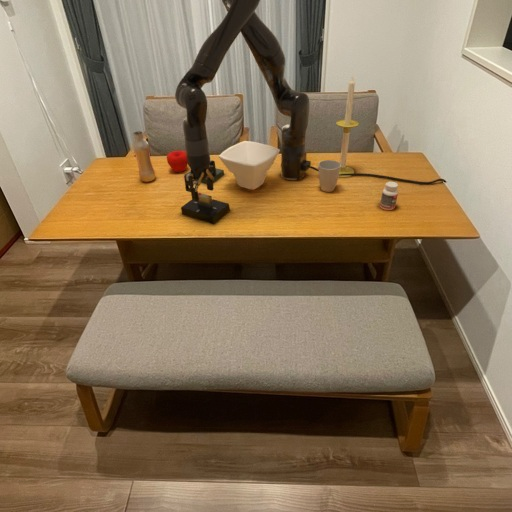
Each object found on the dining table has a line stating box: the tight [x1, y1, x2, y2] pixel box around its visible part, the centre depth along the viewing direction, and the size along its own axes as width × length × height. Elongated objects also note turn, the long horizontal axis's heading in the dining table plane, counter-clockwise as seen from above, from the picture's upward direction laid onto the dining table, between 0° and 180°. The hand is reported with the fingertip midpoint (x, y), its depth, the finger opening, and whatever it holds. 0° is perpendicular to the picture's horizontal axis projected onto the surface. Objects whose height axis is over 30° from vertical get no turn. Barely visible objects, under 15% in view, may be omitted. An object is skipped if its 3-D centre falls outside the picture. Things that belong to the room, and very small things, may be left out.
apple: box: [166, 150, 188, 173], centre depth 165 cm, size 9×9×8 cm
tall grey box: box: [197, 192, 213, 208], centre depth 136 cm, size 6×2×4 cm, turn 60°
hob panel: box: [180, 198, 231, 225], centre depth 138 cm, size 14×10×3 cm
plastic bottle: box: [132, 130, 156, 183], centre depth 155 cm, size 6×7×20 cm
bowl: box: [218, 140, 281, 191], centre depth 150 cm, size 19×19×14 cm
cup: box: [317, 159, 341, 193], centre depth 147 cm, size 8×8×10 cm
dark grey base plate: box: [186, 167, 225, 185], centre depth 160 cm, size 12×10×4 cm
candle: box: [335, 75, 360, 178], centre depth 149 cm, size 10×10×38 cm
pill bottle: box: [379, 181, 399, 211], centre depth 135 cm, size 5×5×9 cm
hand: (203, 195), depth 134 cm, fingers open, 8 cm apart
